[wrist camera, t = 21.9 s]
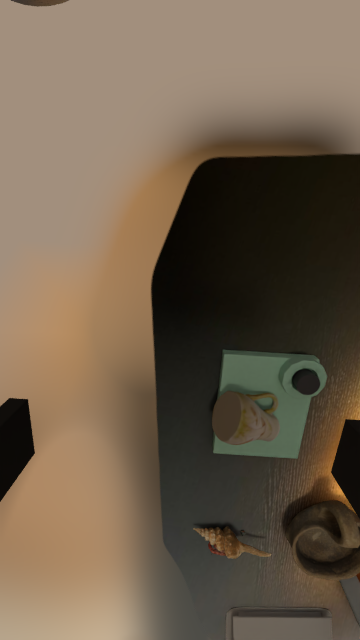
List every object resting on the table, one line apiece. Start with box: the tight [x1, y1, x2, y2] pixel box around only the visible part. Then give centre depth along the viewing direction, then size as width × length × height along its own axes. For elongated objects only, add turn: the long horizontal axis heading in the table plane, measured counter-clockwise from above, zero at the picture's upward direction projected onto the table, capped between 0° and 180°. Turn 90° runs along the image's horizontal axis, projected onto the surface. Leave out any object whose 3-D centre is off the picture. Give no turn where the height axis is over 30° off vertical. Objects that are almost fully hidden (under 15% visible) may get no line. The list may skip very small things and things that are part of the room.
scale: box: [212, 350, 327, 458], centre depth 42 cm, size 18×15×4 cm
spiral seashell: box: [193, 526, 271, 559], centre depth 50 cm, size 14×5×4 cm, turn 97°
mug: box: [212, 391, 280, 445], centre depth 39 cm, size 8×10×10 cm
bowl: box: [285, 500, 360, 580], centre depth 45 cm, size 14×18×10 cm
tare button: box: [292, 369, 320, 395], centre depth 38 cm, size 3×3×2 cm
